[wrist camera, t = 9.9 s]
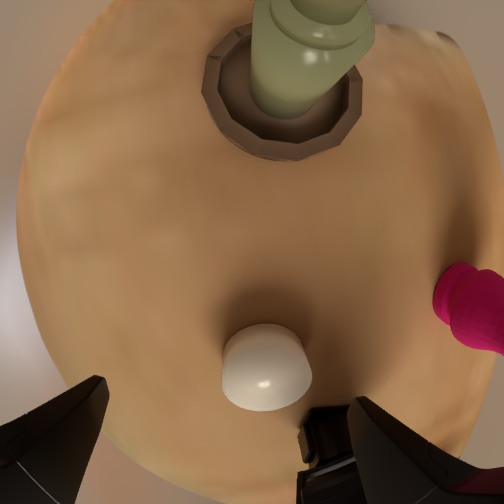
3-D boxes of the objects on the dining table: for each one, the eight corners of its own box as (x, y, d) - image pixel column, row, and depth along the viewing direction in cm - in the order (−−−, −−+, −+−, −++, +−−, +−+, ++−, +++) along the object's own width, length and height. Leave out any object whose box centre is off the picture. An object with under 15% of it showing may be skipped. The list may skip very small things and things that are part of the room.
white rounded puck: (250, 309, 21) (254, 335, 18) (318, 343, 23) (329, 368, 19) (208, 366, 23) (206, 394, 20) (272, 392, 24) (277, 418, 21)
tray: (353, 47, 16) (363, 36, 14) (346, 171, 19) (358, 171, 17) (217, 26, 16) (214, 13, 14) (197, 153, 19) (192, 150, 16)
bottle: (325, 76, 16) (438, -48, 2) (304, 130, 18) (435, 31, 3) (263, 52, 16) (291, -109, 2) (239, 105, 17) (225, -54, 3)
